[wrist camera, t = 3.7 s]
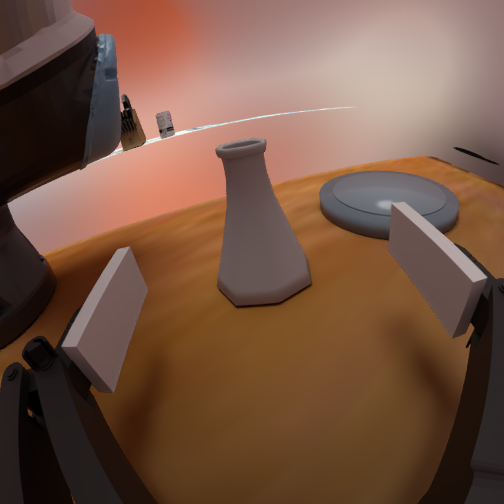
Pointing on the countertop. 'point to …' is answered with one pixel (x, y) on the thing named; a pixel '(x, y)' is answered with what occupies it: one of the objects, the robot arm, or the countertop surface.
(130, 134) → the knife block
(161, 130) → the supplement can
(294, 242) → the flask
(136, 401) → the countertop surface
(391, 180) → the dish
